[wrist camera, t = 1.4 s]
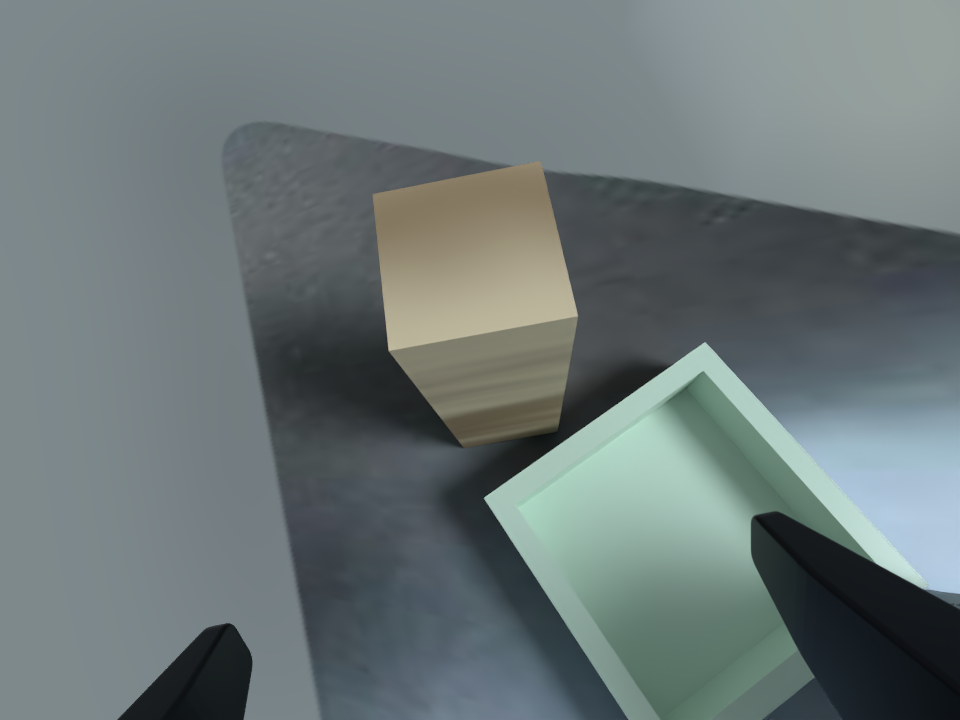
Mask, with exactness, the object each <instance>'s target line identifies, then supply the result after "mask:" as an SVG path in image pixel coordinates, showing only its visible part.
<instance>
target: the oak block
mask: <svg viewBox="0 0 960 720" xmlns="http://www.w3.org/2000/svg"><path fill="white" fill-rule="evenodd" d="M373 201H374V211H375V221H376V231H377V241H378V251H379V260H380V270H381V280H382V290H383V300H384V310H385V319H386V329H387V339H388V349H389V352H390V353H391V355H392V356H393V357H394V358H395V360H396V361H397V362H398V364H399V365H400V366H401V368H402V369H403V370H404V371H405V373H406V374H407V375H408V377H409V378H410V379H411V380H412V382H413V383H414V384H415V386H416V387H417V388H418V389H419V391H420V392H421V393H422V395H423V396H424V397H425V398H426V400H427V401H428V402H429V404H430V405H431V406H432V408H433V409H434V410H435V411H436V413H437V414H438V415H439V417H440V418H441V419H442V420H443V422H444V423H445V424H446V426H447V427H448V428H449V429H450V431H451V432H452V433H453V435H454V436H455V437H456V439H457V440H458V441H459V442H460V444H461V445H462V446H463V448H468V447H474V446H479V445H485V444H491V443H497V442H502V441H508V440H514V439H520V438H525V437H531V436H537V435H543V434H548V433H554V432H558V426H559V420H560V415H561V409H562V403H563V398H564V392H565V387H566V381H567V375H568V370H569V364H570V358H571V353H572V347H573V342H574V336H575V330H576V325H577V319H578V314H577V310H576V306H575V302H574V297H573V293H572V289H571V285H570V281H569V277H568V272H567V268H566V264H565V260H564V256H563V252H562V247H561V243H560V239H559V235H558V231H557V227H556V222H555V218H554V214H553V210H552V206H551V202H550V197H549V193H548V189H547V185H546V181H545V177H544V172H543V168H542V164H541V161H539V162H533V163H528V164H523V165H518V166H513V167H508V168H503V169H498V170H493V171H488V172H483V173H478V174H472V175H467V176H462V177H457V178H452V179H447V180H442V181H437V182H432V183H427V184H422V185H417V186H412V187H407V188H402V189H397V190H392V191H387V192H381V193H376V194H373Z"/></svg>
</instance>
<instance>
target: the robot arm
mask: <svg viewBox="0 0 960 720" xmlns="http://www.w3.org/2000/svg"><path fill="white" fill-rule="evenodd" d="M751 556H752V559H753V562H754V565H755V567H756V569H757V571H758V573H759V575H760V577H761V579H762V581H763V583H764V585H765V586H766V588H767V590H768V592H769V594H770V596H771V598H772V600H773V602H774V604H775V606H776V608H777V610H778V612H779V614H780V616H781V618H782V620H783V621H784V623H785V625H786V627H787V629H788V631H789V633H790V635H791V637H792V639H793V641H794V643H795V645H796V646H797V648H798V650H799V652H800V654H801V656H802V657H803V659H804V661H805V662H806V664H807V666H808V667H809V669H810V670H811V672H812V674H813V675H814V677H815V678H816V680H817V681H818V683H819V684H820V686H821V688H822V689H823V691H824V692H825V694H826V695H827V697H828V698H829V700H830V701H831V703H832V705H833V706H834V708H835V709H836V711H837V712H838V714H839V715H840V717H841V718H842V720H960V609H959V608H957V607H955V606H953V605H952V604H950V603H948V602H946V601H944V600H942V599H941V598H939V597H937V596H935V595H933V594H931V593H929V592H928V591H926V590H924V589H922V588H920V587H918V586H916V585H915V584H913V583H911V582H909V581H907V580H905V579H904V578H902V577H900V576H898V575H896V574H894V573H892V572H891V571H889V570H887V569H885V568H883V567H881V566H879V565H878V564H876V563H874V562H872V561H870V560H868V559H867V558H865V557H863V556H861V555H859V554H857V553H855V552H854V551H852V550H850V549H848V548H846V547H844V546H842V545H841V544H839V543H837V542H835V541H833V540H831V539H830V538H828V537H826V536H824V535H822V534H820V533H818V532H817V531H815V530H813V529H811V528H809V527H807V526H805V525H804V524H802V523H800V522H798V521H796V520H794V519H793V518H791V517H789V516H787V515H785V514H783V513H781V512H778V511H772V512H767V513H762V514H757V515H754V516H753V517H752V519H751ZM251 672H252V656H251V653H250V651H249V649H248V647H247V646H246V644H245V642H244V641H243V639H242V638H241V636H240V634H239V632H238V631H237V629H236V628H235V626H234V625H232V624H230V623H226V624H221V625H217V626H212V627H209V628H206V629H205V630H204V631H203V632H202V633H201V634H200V635H199V636H198V637H197V638H196V639H195V640H194V641H193V642H192V643H191V644H190V645H189V646H188V647H187V648H186V649H185V650H184V651H183V652H182V653H181V654H180V655H179V656H178V657H177V658H176V660H175V661H174V662H173V663H172V664H171V665H170V666H169V667H168V668H167V669H166V670H165V671H164V672H163V673H162V674H161V675H160V676H159V677H158V678H157V679H156V680H155V682H153V683H152V685H151V686H149V687H148V689H147V690H146V691H145V692H144V693H143V694H142V695H141V696H140V697H139V698H138V699H137V700H136V701H135V702H134V703H133V704H132V705H131V706H130V707H129V708H128V709H127V710H126V712H124V713H123V714H122V715H121V717H120V718H119V719H118V720H243V719H244V714H245V708H246V702H247V695H248V690H249V684H250V677H251Z"/></svg>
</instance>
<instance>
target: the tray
mask: <svg viewBox="0 0 960 720" xmlns="http://www.w3.org/2000/svg"><path fill="white" fill-rule="evenodd" d="M484 499H485V501H486V502H487V504H488V505H489V507H490V508H491V510H492V511H493V513H494V515H495V516H496V518H497V519H498V521H499V522H500V524H501V525H502V527H503V528H504V530H505V531H506V533H507V534H508V536H509V538H510V539H511V541H512V542H513V544H514V545H515V547H516V548H517V550H518V551H519V553H520V554H521V556H522V557H523V559H524V560H525V562H526V564H527V565H528V567H529V568H530V570H531V571H532V573H533V574H534V576H535V577H536V579H537V580H538V582H539V583H540V585H541V587H542V588H543V590H544V591H545V593H546V594H547V596H548V597H549V599H550V600H551V602H552V603H553V605H554V606H555V608H556V610H557V611H558V613H559V614H560V616H561V617H562V619H563V620H564V622H565V623H566V625H567V626H568V628H569V629H570V631H571V632H572V634H573V636H574V637H575V639H576V640H577V642H578V643H579V645H580V646H581V648H582V649H583V651H584V652H585V654H586V655H587V657H588V659H589V660H590V662H591V663H592V665H593V666H594V668H595V669H596V671H597V672H598V674H599V675H600V677H601V678H602V680H603V681H604V683H605V685H606V686H607V688H608V689H609V691H610V692H611V694H612V695H613V697H614V698H615V700H616V701H617V703H618V704H619V706H620V708H621V709H622V711H623V712H624V714H625V715H626V717H627V718H628V720H763V719H764V718H765V717H766V716H768V715H769V714H770V713H771V712H773V711H774V710H775V709H776V708H778V707H779V706H780V705H781V704H783V703H784V702H785V701H786V700H787V699H789V698H790V697H791V696H792V695H794V694H795V693H796V692H797V691H799V690H800V689H801V688H802V687H804V686H805V685H806V684H807V683H808V682H810V681H811V680H812V679H813V678H815V677H814V675H813V674H812V672H811V670H810V669H809V667H808V666H807V664H806V662H805V661H804V659H803V657H802V656H801V654H800V652H799V650H798V648H797V646H796V645H795V643H794V641H793V639H792V637H791V635H790V633H789V631H788V629H787V627H786V625H785V623H784V621H783V620H782V618H781V616H780V614H779V612H778V610H777V608H776V606H775V604H774V602H773V600H772V598H771V596H770V594H769V592H768V590H767V588H766V586H765V585H764V583H763V581H762V579H761V577H760V575H759V573H758V571H757V569H756V567H755V565H754V562H753V559H752V556H751V519H752V517H753V516H754V515H757V514H762V513H767V512H772V511H778V512H781V513H783V514H785V515H787V516H789V517H791V518H793V519H794V520H796V521H798V522H800V523H802V524H804V525H805V526H807V527H809V528H811V529H813V530H815V531H817V532H818V533H820V534H822V535H824V536H826V537H828V538H830V539H831V540H833V541H835V542H837V543H839V544H841V545H842V546H844V547H846V548H848V549H850V550H852V551H854V552H855V553H857V554H859V555H861V556H863V557H865V558H867V559H868V560H870V561H872V562H874V563H876V564H878V565H879V566H881V567H883V568H885V569H887V570H889V571H891V572H892V573H894V574H896V575H898V576H900V577H902V578H904V579H905V580H907V581H909V582H911V583H913V584H915V585H916V586H918V587H920V588H922V589H925V588H926V587H927V586H928V584H927V583H926V582H925V581H924V580H923V578H922V577H921V576H920V575H919V574H918V573H917V572H916V571H915V570H914V569H913V568H912V566H911V565H910V564H909V563H908V562H907V561H906V560H905V559H904V558H903V557H902V556H901V554H900V553H899V552H898V551H897V550H896V549H895V548H894V547H893V546H892V545H891V544H890V543H889V541H888V540H887V539H886V538H885V537H884V536H883V535H882V534H881V533H880V532H879V531H878V529H877V528H876V527H875V526H874V525H873V524H872V523H871V522H870V521H869V520H868V519H867V518H866V516H865V515H864V514H863V513H862V512H861V511H860V510H859V509H858V508H857V507H856V506H855V504H854V503H853V502H852V501H851V500H850V499H849V498H848V497H847V496H846V495H845V494H844V493H843V491H842V490H841V489H840V488H839V487H838V486H837V485H836V484H835V483H834V482H833V481H832V479H831V478H830V477H829V476H828V475H827V474H826V473H825V472H824V471H823V470H822V469H821V468H820V466H819V465H818V464H817V463H816V462H815V461H814V460H813V459H812V458H811V457H810V456H809V454H808V453H807V452H806V451H805V450H804V449H803V448H802V447H801V446H800V445H799V444H798V442H797V441H796V440H795V439H794V438H793V437H792V436H791V435H790V434H789V433H788V432H787V431H786V429H785V428H784V427H783V426H782V425H781V424H780V423H779V422H778V421H777V420H776V419H775V417H774V416H773V415H772V414H771V413H770V412H769V411H768V410H767V409H766V408H765V407H764V406H763V404H762V403H761V402H760V401H759V400H758V399H757V398H756V397H755V396H754V395H753V394H752V392H751V391H750V390H749V389H748V388H747V387H746V386H745V385H744V384H743V383H742V382H741V381H740V379H739V378H738V377H737V376H736V375H735V374H734V373H733V372H732V371H731V370H730V369H729V367H728V366H727V365H726V364H725V363H724V362H723V361H722V360H721V359H720V358H719V357H718V355H717V354H716V353H715V352H714V351H713V350H712V349H711V348H710V347H709V346H708V345H707V344H706V342H705V343H703V344H702V345H701V346H699V347H698V348H696V349H695V350H693V351H692V352H691V353H689V354H688V355H686V356H685V357H683V358H682V359H681V360H679V361H678V362H676V363H675V364H673V365H672V366H671V367H669V368H668V369H666V370H665V371H664V372H662V373H661V374H659V375H658V376H656V377H655V378H654V379H652V380H651V381H649V382H648V383H646V384H645V385H644V386H642V387H641V388H639V389H638V390H637V391H635V392H634V393H632V394H631V395H629V396H628V397H627V398H625V399H624V400H622V401H621V402H619V403H618V404H617V405H615V406H614V407H612V408H611V409H609V410H608V411H607V412H605V413H604V414H602V415H601V416H600V417H598V418H597V419H595V420H594V421H592V422H591V423H590V424H588V425H587V426H585V427H584V428H582V429H581V430H580V431H578V432H577V433H575V434H574V435H573V436H571V437H570V438H568V439H567V440H565V441H564V442H563V443H561V444H560V445H558V446H557V447H555V448H554V449H553V450H551V451H550V452H548V453H547V454H546V455H544V456H543V457H541V458H540V459H538V460H537V461H536V462H534V463H533V464H531V465H530V466H528V467H527V468H526V469H524V470H523V471H521V472H520V473H518V474H517V475H516V476H514V477H513V478H511V479H510V480H509V481H507V482H506V483H504V484H503V485H501V486H500V487H499V488H497V489H496V490H494V491H493V492H491V493H490V494H489V495H487V496H486V497H484Z"/></svg>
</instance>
